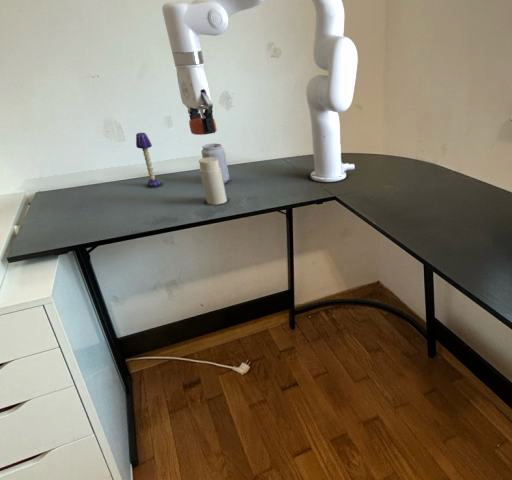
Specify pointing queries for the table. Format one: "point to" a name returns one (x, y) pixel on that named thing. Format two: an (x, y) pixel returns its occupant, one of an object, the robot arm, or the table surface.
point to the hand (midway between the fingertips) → (203, 130)
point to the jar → (212, 181)
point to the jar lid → (198, 126)
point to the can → (219, 153)
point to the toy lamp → (147, 157)
